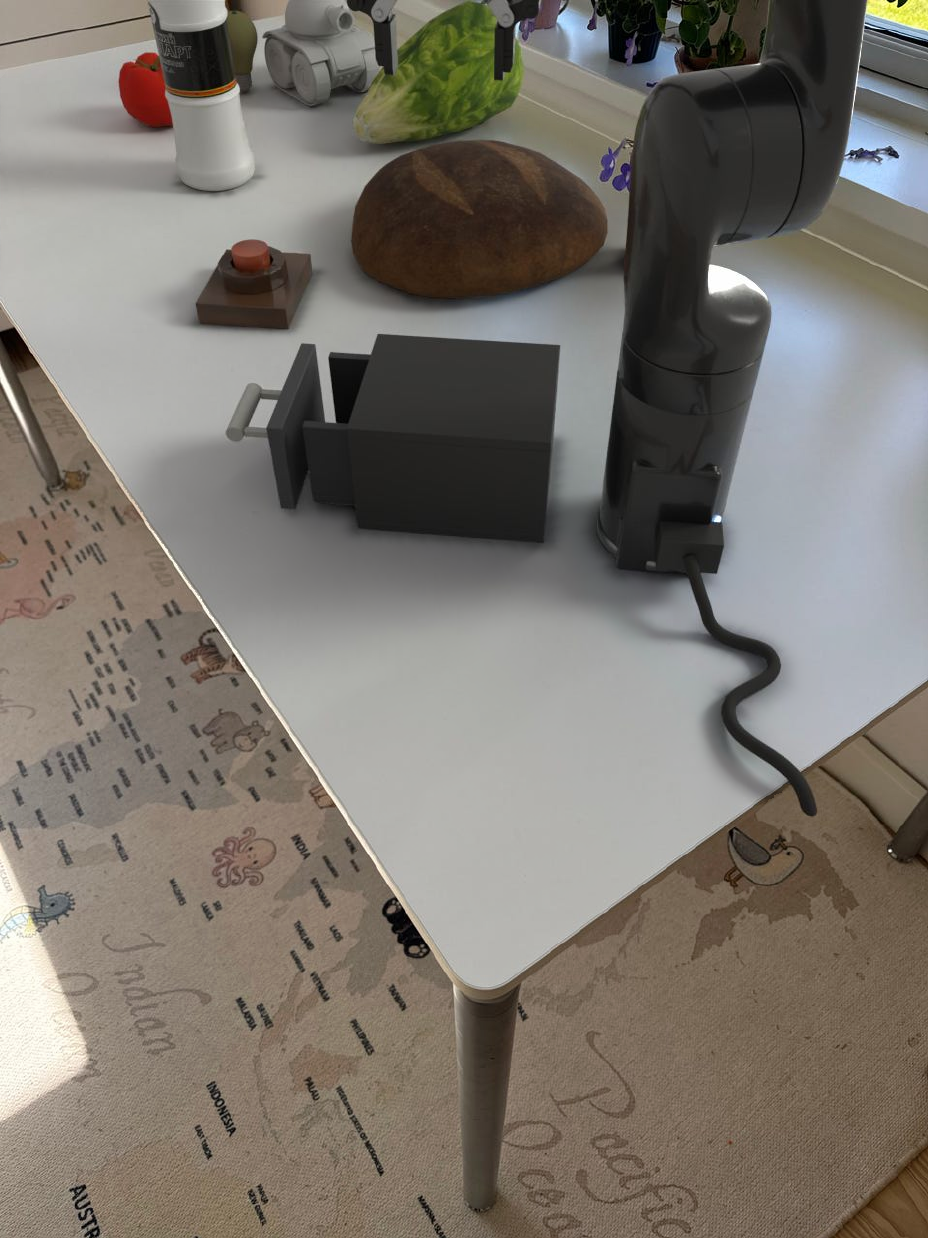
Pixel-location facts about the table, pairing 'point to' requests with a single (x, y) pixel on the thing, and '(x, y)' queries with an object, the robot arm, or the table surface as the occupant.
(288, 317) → the brown button base
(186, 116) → the vodka
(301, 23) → the toy tank
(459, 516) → the cabinet
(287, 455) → the drawer
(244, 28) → the light bulb
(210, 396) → the table surface
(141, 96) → the red bell pepper
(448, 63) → the lettuce
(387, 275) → the bread
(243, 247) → the button
